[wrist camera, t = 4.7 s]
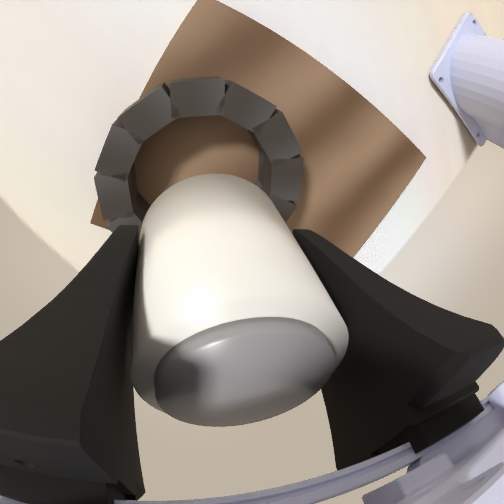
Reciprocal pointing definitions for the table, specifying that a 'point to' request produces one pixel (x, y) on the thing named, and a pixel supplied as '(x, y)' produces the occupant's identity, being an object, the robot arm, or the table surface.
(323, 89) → the socket board
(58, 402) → the robot arm
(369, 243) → the table surface
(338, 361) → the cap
